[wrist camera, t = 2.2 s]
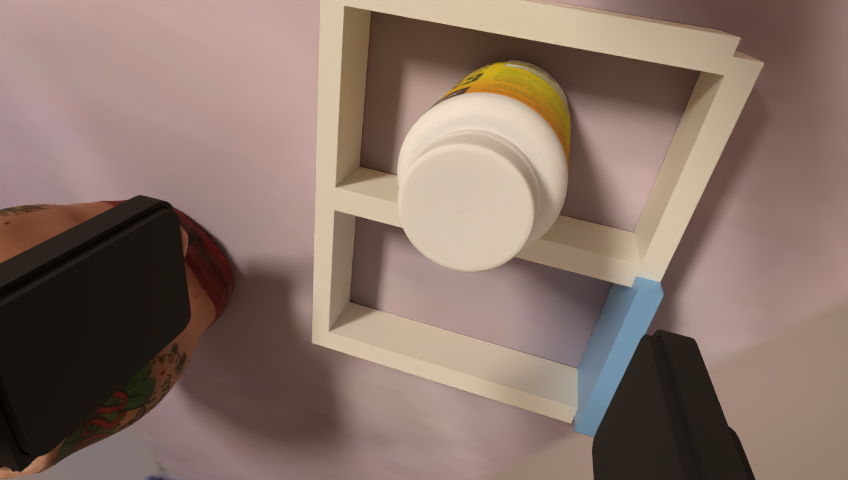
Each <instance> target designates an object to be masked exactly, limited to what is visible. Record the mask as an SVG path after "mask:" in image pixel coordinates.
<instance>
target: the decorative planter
mask: <svg viewBox="0 0 848 480" xmlns="http://www.w3.org/2000/svg"><path fill="white" fill-rule="evenodd" d="M125 201H127V200H123V201H100V202H92V203H78V204H70V205H49V204H38V205H23V206H17V207H11V208H6V209H1V210H0V263H2V262H4V261H6V260H8V259H10V258H12V257H14V256H16V255H18V254H20V253H22V252H24V251H26V250H28V249H30V248H32V247H34V246H36V245H38V244H40V243H42V242H44V241H46V240H48V239H50V238H52V237H54V236H56V235H58V234H60V233H62V232H64V231H66V230H68V229H70V228H72V227H74V226H76V225H78V224H80V223H82V222H84V221H87V220H89V219H91V218H93V217H95V216H97V215H99V214H101V213H103V212H105V211H107V210H109V209H111V208H113V207H115V206H117V205H119V204H121V203H123V202H125ZM173 209H174V208H173ZM174 211H175V212H176V213H177V214H178V216H179V221H180V229H181V237H182V245H183V253H184V260H185V268H186V276H187V284H188V292H189V300H190V308H191V318H190V321H189V324H188V325H187V327H186V328H185V330H184V331H183V332H181V333H180V334H179V335H178V336H177V337H176V338H175V339H174V340H173V341H172V342H171V343H169V344H168V345H167V346H166V347H165V348H164V349H163V350H162V351H161V352H160V353H158V354H157V355H156V356H155V357H154V358H153V359H152V360H151V361H150V362H149V363H148V364H146V365H145V366H144V367H143V368H142V369H141V370H140V371H139V372H138V373H137V374H135V375H134V376H133V377H132V378H131V379H130V380H129V381H128V382H127V383H126V384H125V385H123V386H122V387H121V388H120V389H119V390H118V391H117V392H116V393H115V394H114V395H112V396H111V397H110V398H109V399H108V400H107V401H106V402H105V403H104V404H103V405H102V406H100V407H99V408H98V409H97V410H96V411H95V412H94V413H93V414H92V415H91V416H89V417H88V418H87V419H86V420H85V421H84V422H83V423H82V424H81V425H80V426H79V427H77V428H76V429H75V430H74V431H73V432H72V433H71V434H70V435H69V436H68V437H66V438H65V439H64V440H63V441H62V442H61V443H60V444H59V445H58V446H57V447H56V448H54V449H53V450H52V451H51V452H49V453H48V454H46V455H44V456H39V457H37V458H36V459H35V460H34V461H33V462H32V463H31V464H30V465H28V466H27V467H26V468H25V469H24V470H23V471H22V472H21V473H20V472H18V471H15V470H12V469H10V468H7V467H4V466H2V465H0V479H7V478H12V477H16V476H21V475H27V474H35V473H40V472H42V471H44V470H46V469H48V468H50V467H51V466H53V465H55V464H56V463H58V462H59V461H61V460H62V459H64V458H66V457H67V456H69V455H71V454H72V453H74V452H76V451H78V450H80V449H83V448H85V447H87V446H89V445H92V444H93V443H96V442H98V441H100V440H103V439H104V438H107V437H109V436H111V435H113V434H115V433H117V432H119V431H121V430H123V429H125V428H127V427H129V426H130V425H132V424H133V423H135V422H136V421H138V420H139V419H140V418H142V417H143V416H144V415H146V414H147V413H148V412H149V411H151V410H152V409H153V408H154V407H155V406H156V405H157V404H158V403H159V402H160V401H161V400H162V399H163V398H164V397H165V396H166V395H167V393H168V392H169V391H170V390H171V388H172V387H173V386H174V384H175V383H176V381H177V380H178V378H179V377H180V375H181V374H182V372H183V371H184V369H185V367H186V365H187V363H188V362H189V360H190V357H191V355H192V353H193V351H194V348H195V346H196V344H197V342H198V341H199V339H200V337H201V336H202V334H203V333H204V332H205V330H206V329H207V328H208V327H210V326H211V325H212V324H213V323H214V322H215V321H216V320H217V319H218V318H219V317H220V315H221V314H222V313H223V311H224V310H225V308H226V306H227V304H228V302H229V300H230V298H231V295H232V292H233V287H234V281H233V275H232V272H231V269H230V267H229V265H228V263H227V261H226V260H225V258H224V256H223V255H222V254H221V252H220V251H219V249H218V248H217V247H216V245H215V244H214V243H213V241H212V240H211V239H210V238H209V237H208V236H207V234H206V233H205V232H204V231H203V230H202V229H200V228H199V227H198V226H197V225H196V224H194V223H193V222H192V221H191V220H190V219H188V218H187V217H186V216H185V215H183V214H182V213H180V212H179V211H177V210H176V209H174Z"/></svg>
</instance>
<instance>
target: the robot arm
mask: <svg viewBox="0 0 848 480" xmlns="http://www.w3.org/2000/svg"><path fill="white" fill-rule="evenodd" d="M190 318H191V308H190V300H189V292H188V284H187V276H186V268H185V260H184V253H183V245H182V237H181V229H180V221H179V216H178V214H177V213H176V212H175V211H174V209H173V207H172V205H171V204H170V203H168V202H166V201H162V200H158V199H155V198H151V197H147V196H141V195H139V196H135V197H133V198H131V199H129V200H127V201H125V202H123V203H121V204H119V205H117V206H115V207H113V208H111V209H109V210H107V211H105V212H103V213H101V214H99V215H97V216H95V217H93V218H91V219H89V220H87V221H84V222H82V223H80V224H78V225H76V226H74V227H72V228H70V229H68V230H66V231H64V232H62V233H60V234H58V235H56V236H54V237H52V238H50V239H48V240H46V241H44V242H42V243H40V244H38V245H36V246H34V247H32V248H30V249H28V250H26V251H24V252H22V253H20V254H18V255H16V256H14V257H12V258H10V259H8V260H6V261H4V262H2V263H0V465H2V466H4V467H7V468H10V469H12V470H15V471H18V472H20V473H21V472H22V471H23V470H24V469H25V468H26V467H27V466H28V465H30V464H31V463H32V462H33V461H34V460H35V459H36V458H37V457H39V456H44V455H46V454H48V453H49V452H51V451H52V450H53V449H54V448H56V447H57V446H58V445H59V444H60V443H61V442H62V441H63V440H64V439H65V438H66V437H68V436H69V435H70V434H71V433H72V432H73V431H74V430H75V429H76V428H77V427H79V426H80V425H81V424H82V423H83V422H84V421H85V420H86V419H87V418H88V417H89V416H91V415H92V414H93V413H94V412H95V411H96V410H97V409H98V408H99V407H100V406H102V405H103V404H104V403H105V402H106V401H107V400H108V399H109V398H110V397H111V396H112V395H114V394H115V393H116V392H117V391H118V390H119V389H120V388H121V387H122V386H123V385H125V384H126V383H127V382H128V381H129V380H130V379H131V378H132V377H133V376H134V375H135V374H137V373H138V372H139V371H140V370H141V369H142V368H143V367H144V366H145V365H146V364H148V363H149V362H150V361H151V360H152V359H153V358H154V357H155V356H156V355H157V354H158V353H160V352H161V351H162V350H163V349H164V348H165V347H166V346H167V345H168V344H169V343H171V342H172V341H173V340H174V339H175V338H176V337H177V336H178V335H179V334H180V333H181V332H183V331H184V330H185V328H186V327H187V325H188V324H189V321H190ZM592 456H593V473H594V480H755V477H754V475H753V472H752V470H751V467H750V465H749V462H748V460H747V457H746V454H745V452H744V449H743V447H742V444H741V442H740V439H739V438H738V436H737V434H736V432H735V431H734V430H733V429H731V428H730V427H729V426H728V424H727V422H726V419H725V416H724V414H723V411H722V409H721V406H720V403H719V401H718V398H717V395H716V393H715V390H714V387H713V385H712V382H711V379H710V377H709V374H708V371H707V369H706V366H705V364H704V361H703V358H702V356H701V353H700V350H699V348H698V345H697V343H696V341H695V339H693V338H690V337H686V336H683V335H679V334H675V333H671V332H667V331H663V330H657V331H656V332H655V333H654V334H653V336H650V335H643V336H642V338H641V339H640V341H639V343H638V345H637V348H636V350H635V352H634V354H633V356H632V358H631V360H630V362H629V364H628V366H627V368H626V371H625V373H624V375H623V377H622V379H621V381H620V383H619V385H618V387H617V389H616V391H615V394H614V396H613V398H612V400H611V402H610V404H609V406H608V408H607V410H606V412H605V414H604V417H603V419H602V421H601V423H600V425H599V427H598V429H597V431H596V434H595V437H594V441H593V447H592Z"/></svg>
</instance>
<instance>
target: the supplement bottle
mask: <svg viewBox="0 0 848 480" xmlns="http://www.w3.org/2000/svg"><path fill="white" fill-rule="evenodd" d="M570 130H571V117H570V108H569V104H568V101H567V98H566V96H565V94H564V92H563V90H562V88H561V87H560V85H559V84H558V83H557V82H556V80H555V79H554V78H553V77H552V76H551V75H549V74H548V73H547V72H546V71H544V70H543V69H541V68H539V67H537V66H535V65H533V64H530V63H527V62H524V61H518V60H501V61H496V62H492V63H489V64H486V65H484V66H482V67H480V68H478V69H476V70H474V71H473V72H472V73H470V74H469V75H468V76H466V77H465V78H464V79H463V80H462V81H461V82H459V83H458V84H457V85H456V86H455V87H454V88H453V89H451V90H450V91H449V92H448V93H447V94H446V95H445V96H444V97H443V98H441V99H440V100H439V101H438V102H437V103H436V104H434V105H433V106H432V107H431V108H430V109H429V110H428V111H426V112H425V113H424V114H423V115H422V116H421V117H420V119H419V120H418V121H417V122H416V123H415V124H414V126H413V127H412V128H411V129H410V131H409V133H408V135H407V136H406V138H405V140H404V143H403V145H402V148H401V151H400V155H399V159H398V167H397V177H398V187H399V192H398V214H399V219H400V222H401V225H402V227H403V230H404V232H405V233H406V235H407V237H408V238H409V240H410V241H411V243H412V244H413V245H414V246H415V247H416V248H417V249H418V251H419V252H421V253H422V254H423V255H424V256H426V257H427V258H428V259H430V260H431V261H433V262H435V263H437V264H439V265H441V266H443V267H446V268H449V269H453V270H457V271H464V272H479V271H485V270H490V269H493V268H496V267H499V266H501V265H503V264H505V263H506V262H508V261H509V260H511V259H512V258H513V257H515V256H516V255H517V254H518V253H519V252H520V251H521V250H522V249H524V248H526V247H528V246H530V245H531V244H533V243H534V242H536V241H537V240H538V239H540V238H541V237H542V236H543V235H544V234H545V233H546V232H547V231H548V230H549V229H550V227H551V226H552V225H553V223H554V222H555V220H556V219H557V217H558V215H559V213H560V211H561V209H562V207H563V204H564V200H565V197H566V192H567V186H568V170H569V150H570Z"/></svg>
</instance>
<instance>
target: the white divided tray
mask: <svg viewBox="0 0 848 480" xmlns="http://www.w3.org/2000/svg"><path fill="white" fill-rule="evenodd" d="M371 11H376V12H382V13H387V14H393V15H398V16H403V17H409V18H414V19H420V20H425V21H431V22H436V23H442V24H447V25H453V26H458V27H464V28H469V29H474V30H480V31H485V32H491V33H496V34H502V35H507V36H513V37H518V38H524V39H529V40H535V41H540V42H545V43H551V44H556V45H562V46H567V47H573V48H578V49H584V50H589V51H595V52H600V53H606V54H611V55H616V56H622V57H627V58H633V59H638V60H644V61H649V62H655V63H660V64H666V65H671V66H677V67H682V68H687V69H693V70H698V71H701V72H700V75H699V77H698V79H697V82H696V84H695V87H694V89H693V92H692V94H691V96H690V99H689V101H688V104H687V106H686V108H685V111H684V113H683V116H682V118H681V120H680V123H679V125H678V128H677V130H676V133H675V135H674V137H673V140H672V142H671V145H670V147H669V149H668V152H667V154H666V157H665V159H664V161H663V164H662V166H661V169H660V171H659V174H658V176H657V178H656V181H655V183H654V186H653V188H652V190H651V193H650V195H649V198H648V200H647V202H646V205H645V207H644V210H643V212H642V215H641V217H640V219H639V222H638V224H637V227H636V229H635V231H634V233H632V232H628V231H624V230H620V229H616V228H612V227H608V226H603V225H599V224H595V223H591V222H587V221H583V220H579V219H574V218H570V217H566V216H562V215H558V217H557V219H556V220H555V222H554V223H553V225H552V226H551V227H550V229H549V230H548V231H547V232H546V233H545V234H544V235H543V236H542V237H541V238H540V239H538V240H537V241H536V242H534V243H533V244H531V245H530V246H528V247H526V248H524V249H522V250H521V251H520V252H519V253H518V254H517V255H516V256H515V257H516V258H520V259H524V260H528V261H532V262H536V263H540V264H543V265H547V266H551V267H555V268H559V269H563V270H566V271H570V272H574V273H578V274H582V275H586V276H590V277H593V278H597V279H601V280H605V281H609V282H613V284H612V287H611V289H610V292H609V294H608V297H607V299H606V301H605V304H604V306H603V309H602V311H601V313H600V316H599V318H598V321H597V323H596V325H595V328H594V330H593V333H592V335H591V338H590V340H589V342H588V345H587V347H586V350H585V352H584V354H583V357H582V359H581V362H580V364H579V366H578V369H577V368H574V367H570V366H567V365H563V364H560V363H557V362H553V361H550V360H546V359H543V358H540V357H536V356H533V355H529V354H526V353H522V352H519V351H516V350H512V349H509V348H505V347H502V346H499V345H495V344H492V343H488V342H485V341H481V340H478V339H475V338H471V337H468V336H464V335H461V334H458V333H454V332H451V331H447V330H444V329H440V328H437V327H434V326H430V325H427V324H423V323H420V322H417V321H413V320H410V319H406V318H403V317H399V316H396V315H393V314H389V313H386V312H382V311H379V310H375V309H372V308H369V307H365V306H362V305H358V304H355V303H352V302H350V290H351V277H352V263H353V250H354V236H355V223H356V216H359V217H363V218H367V219H370V220H374V221H378V222H382V223H386V224H390V225H393V226H397V227H401V228H403V227H402V225H401V222H400V219H399V214H398V192H399V187H398V177H397V176H396V175H392V174H388V173H384V172H380V171H376V170H372V169H367V168H363V167H360V155H361V141H362V128H363V114H364V101H365V87H366V74H367V60H368V47H369V33H370V20H371ZM740 39H741V38H740V37H737V36H734V35H732V34H729V33H726V32H723V31H720V30H717V29H711V28H705V27H699V26H693V25H687V24H681V23H675V22H669V21H663V20H657V19H651V18H645V17H639V16H633V15H628V14H622V13H616V12H610V11H604V10H598V9H592V8H586V7H580V6H574V5H568V4H562V3H556V2H550V1H545V0H320V39H319V79H318V119H317V159H316V199H315V239H314V279H313V319H312V343H314V344H317V345H320V346H324V347H327V348H330V349H333V350H337V351H340V352H343V353H346V354H349V355H353V356H356V357H359V358H362V359H365V360H369V361H372V362H375V363H378V364H381V365H385V366H388V367H391V368H394V369H397V370H401V371H404V372H407V373H410V374H413V375H417V376H420V377H423V378H426V379H429V380H433V381H436V382H439V383H442V384H445V385H449V386H452V387H455V388H458V389H461V390H465V391H468V392H471V393H474V394H477V395H481V396H484V397H487V398H490V399H494V400H497V401H500V402H503V403H506V404H510V405H513V406H516V407H519V408H522V409H526V410H529V411H532V412H535V413H538V414H542V415H545V416H548V417H551V418H554V419H558V420H561V421H564V422H567V423H570V424H571V423H572V420H573V418H574V431H575V432H578V433H581V434H584V435H588V436H591V437H595V434H596V431H597V429H598V427H599V425H600V423H601V421H602V419H603V417H604V414H605V412H606V410H607V408H608V406H609V404H610V402H611V400H612V398H613V396H614V394H615V391H616V389H617V387H618V385H619V383H620V381H621V379H622V377H623V375H624V373H625V371H626V368H627V366H628V364H629V362H630V360H631V358H632V356H633V354H634V352H635V350H636V348H637V345H638V343H639V341H640V339H641V338H642V336H643V335H645V333H646V331H647V329H648V327H649V325H650V323H651V321H652V319H653V317H654V315H655V313H656V310H657V308H658V306H659V304H660V302H661V300H662V298H663V296H664V294H663V290H662V287H661V283H660V282H661V280H662V277H663V275H664V273H665V271H666V269H667V267H668V265H669V263H670V261H671V259H672V256H673V254H674V252H675V250H676V248H677V246H678V244H679V242H680V240H681V238H682V235H683V233H684V231H685V229H686V227H687V225H688V223H689V221H690V219H691V216H692V214H693V212H694V210H695V208H696V206H697V204H698V202H699V200H700V198H701V195H702V193H703V191H704V189H705V187H706V185H707V183H708V181H709V179H710V177H711V174H712V172H713V170H714V168H715V166H716V164H717V162H718V160H719V158H720V155H721V153H722V151H723V149H724V147H725V145H726V143H727V141H728V139H729V137H730V134H731V132H732V130H733V128H734V126H735V124H736V122H737V120H738V118H739V116H740V113H741V111H742V109H743V107H744V105H745V103H746V101H747V99H748V97H749V94H750V92H751V90H752V88H753V86H754V84H755V82H756V80H757V78H758V76H759V73H760V71H761V69H762V67H763V65H764V63H765V62H762V61H760V60H758V59H755V58H753V57H751V56H749V55H746V54H744V53H742V52H739V51H735V50H736V48H737V46H738V44H739V41H740Z"/></svg>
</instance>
